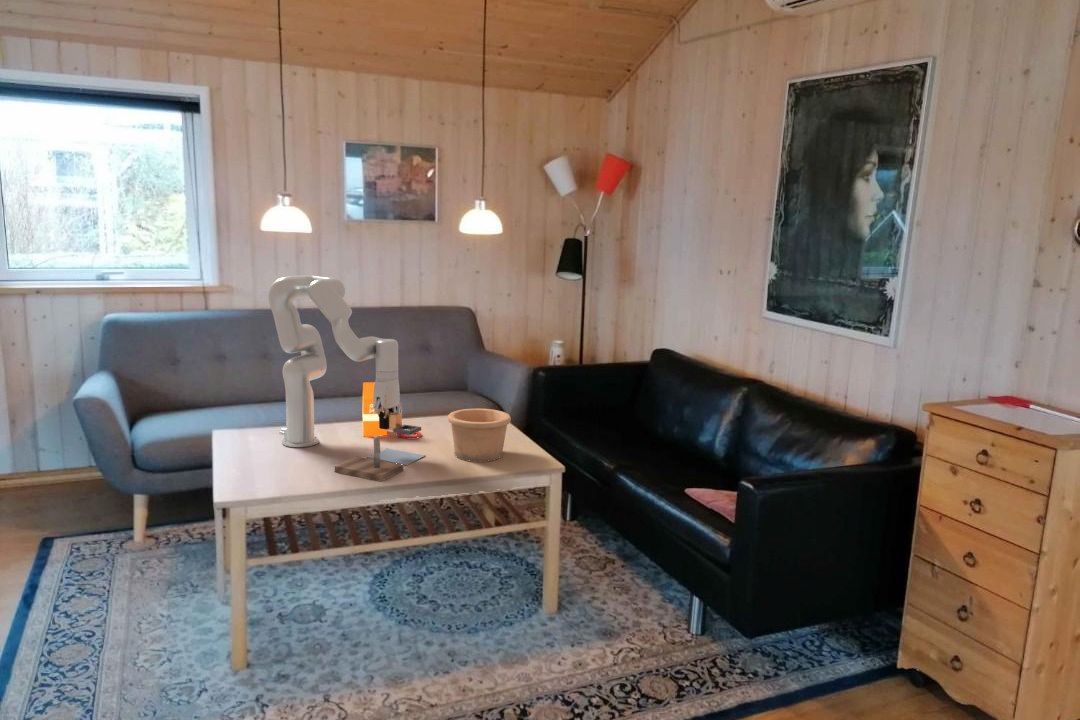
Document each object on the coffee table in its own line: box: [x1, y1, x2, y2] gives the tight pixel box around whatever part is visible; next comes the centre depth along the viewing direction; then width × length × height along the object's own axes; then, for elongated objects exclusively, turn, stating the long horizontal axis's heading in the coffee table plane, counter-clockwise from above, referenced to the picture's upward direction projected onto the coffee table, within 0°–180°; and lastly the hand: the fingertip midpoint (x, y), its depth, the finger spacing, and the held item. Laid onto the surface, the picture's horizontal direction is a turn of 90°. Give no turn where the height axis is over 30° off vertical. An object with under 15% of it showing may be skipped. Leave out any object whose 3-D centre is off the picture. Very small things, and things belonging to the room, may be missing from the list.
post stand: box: [334, 436, 404, 482], centre depth 242 cm, size 18×12×12 cm, turn 67°
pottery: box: [447, 407, 512, 462], centre depth 265 cm, size 22×22×14 cm
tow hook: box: [395, 402, 423, 439], centre depth 285 cm, size 8×13×9 cm
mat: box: [366, 448, 426, 466], centre depth 259 cm, size 16×12×1 cm
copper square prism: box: [379, 410, 422, 436], centre depth 257 cm, size 14×7×6 cm, turn 67°
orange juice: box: [362, 381, 388, 437], centre depth 286 cm, size 8×9×20 cm
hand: (387, 427), depth 259 cm, fingers closed on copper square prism, 3 cm apart
